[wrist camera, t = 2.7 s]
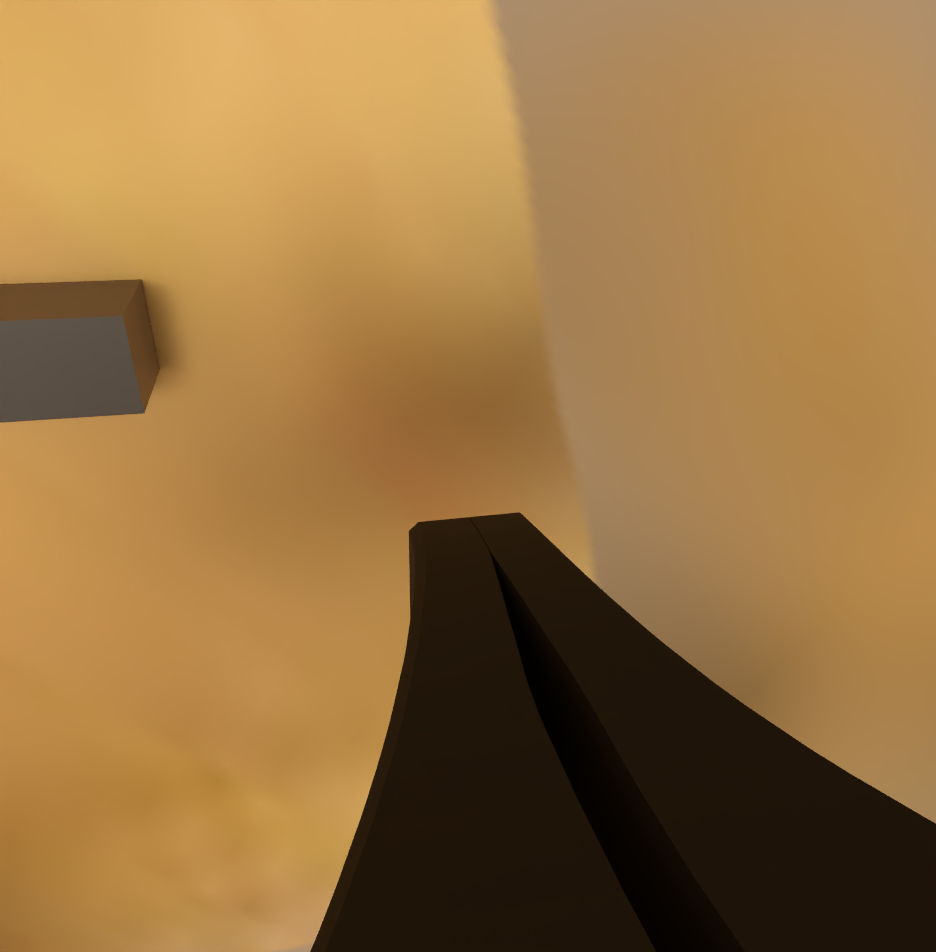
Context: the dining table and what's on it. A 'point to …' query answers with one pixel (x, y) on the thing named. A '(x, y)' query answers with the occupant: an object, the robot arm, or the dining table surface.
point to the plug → (75, 350)
